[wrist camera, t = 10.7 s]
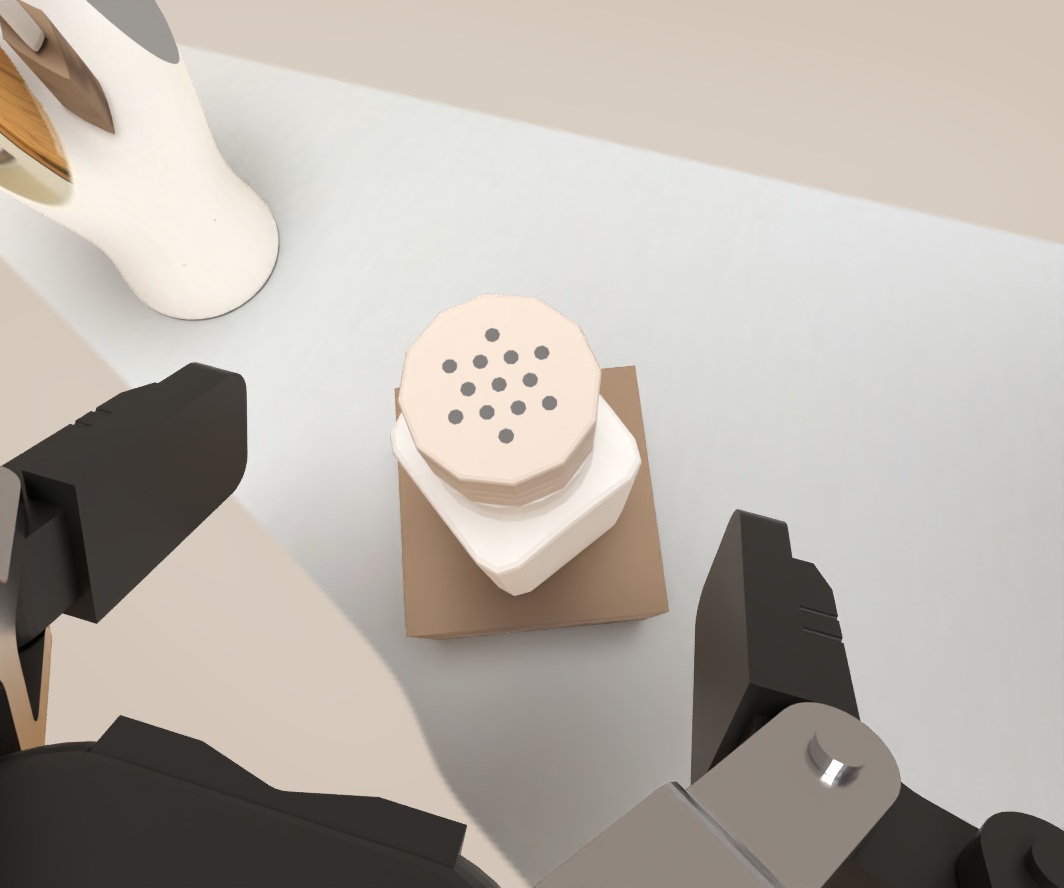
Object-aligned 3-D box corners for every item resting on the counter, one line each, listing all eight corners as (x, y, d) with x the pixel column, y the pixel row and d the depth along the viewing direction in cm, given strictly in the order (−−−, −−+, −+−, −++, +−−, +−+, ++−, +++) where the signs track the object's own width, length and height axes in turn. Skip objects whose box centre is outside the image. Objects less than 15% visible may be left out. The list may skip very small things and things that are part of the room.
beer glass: (82, 298, 29) (-373, -45, 15) (166, 152, 31) (-169, -284, 16) (243, 356, 28) (-73, 53, 14) (320, 203, 30) (109, -208, 16)
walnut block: (617, 424, 28) (635, 365, 22) (642, 620, 26) (669, 611, 20) (426, 443, 28) (394, 388, 22) (438, 639, 26) (406, 636, 20)
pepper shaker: (539, 406, 22) (521, 223, 12) (629, 514, 21) (682, 403, 11) (426, 492, 21) (321, 366, 12) (514, 607, 20) (473, 567, 11)
